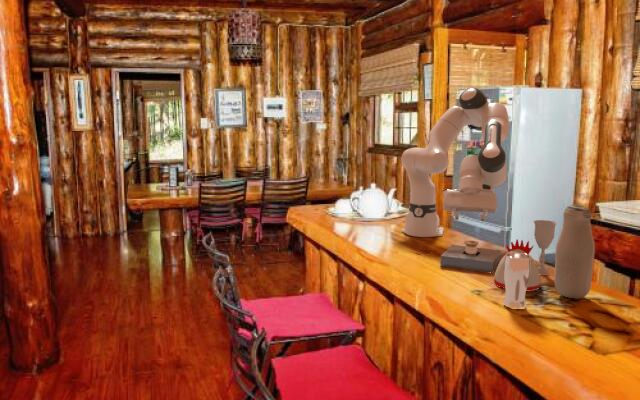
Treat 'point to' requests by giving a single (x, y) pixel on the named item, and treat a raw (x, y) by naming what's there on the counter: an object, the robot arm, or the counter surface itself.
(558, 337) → the counter surface
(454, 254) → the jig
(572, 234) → the glass bottle
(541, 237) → the chalice
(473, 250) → the bushing
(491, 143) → the robot arm
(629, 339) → the counter surface
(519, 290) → the beer glass
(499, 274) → the kitchen timer
